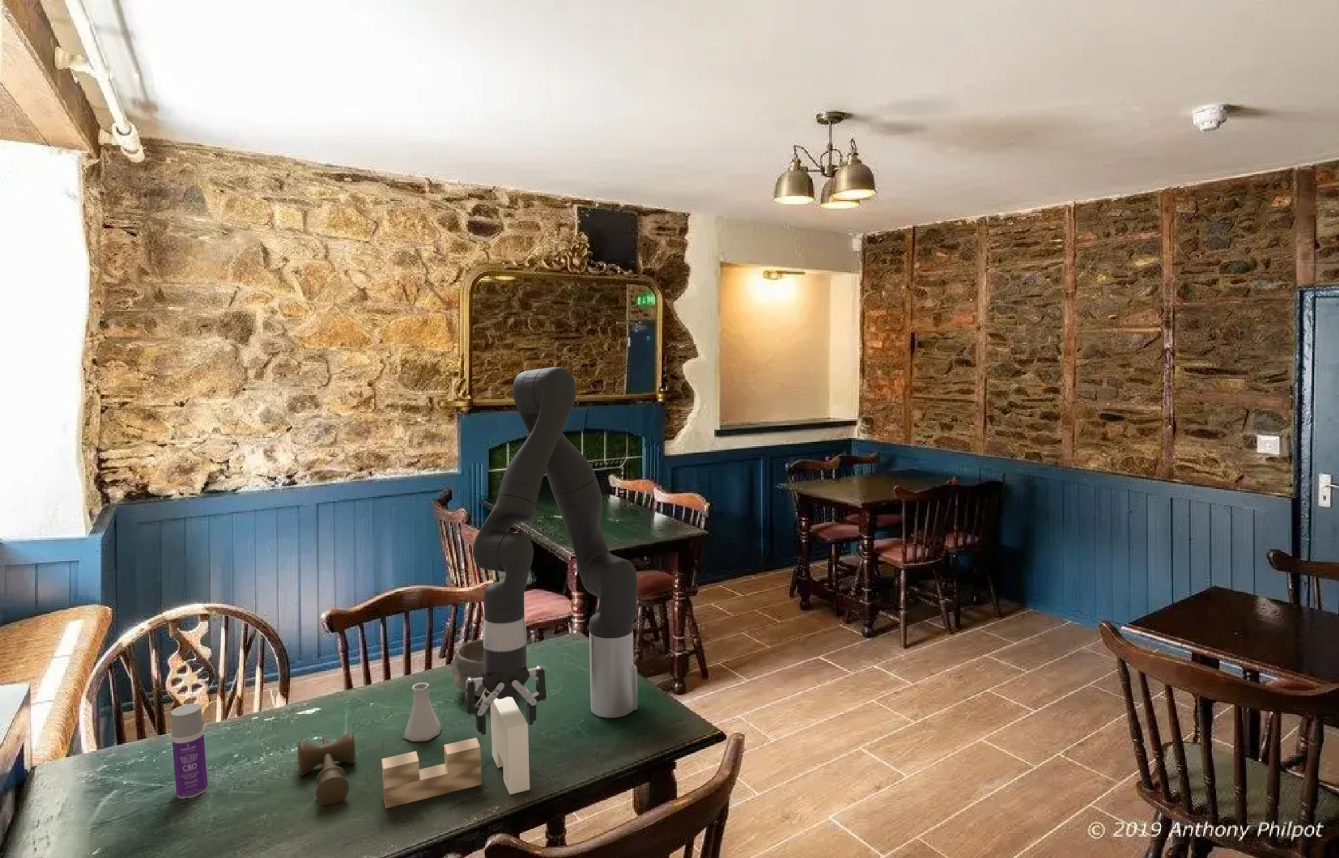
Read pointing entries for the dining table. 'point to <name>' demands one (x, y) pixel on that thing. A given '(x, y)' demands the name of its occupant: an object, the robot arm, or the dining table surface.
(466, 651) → the bowl
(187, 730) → the container
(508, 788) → the white rectangular block
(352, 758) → the kendama
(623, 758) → the dining table surface
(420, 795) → the oak base
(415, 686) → the flask
